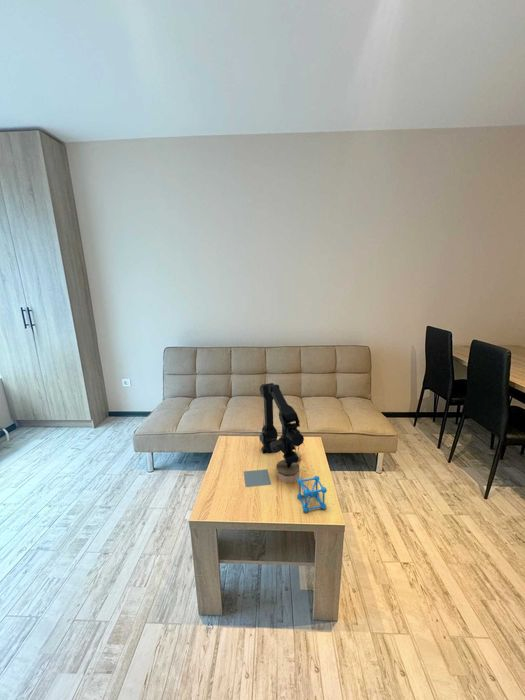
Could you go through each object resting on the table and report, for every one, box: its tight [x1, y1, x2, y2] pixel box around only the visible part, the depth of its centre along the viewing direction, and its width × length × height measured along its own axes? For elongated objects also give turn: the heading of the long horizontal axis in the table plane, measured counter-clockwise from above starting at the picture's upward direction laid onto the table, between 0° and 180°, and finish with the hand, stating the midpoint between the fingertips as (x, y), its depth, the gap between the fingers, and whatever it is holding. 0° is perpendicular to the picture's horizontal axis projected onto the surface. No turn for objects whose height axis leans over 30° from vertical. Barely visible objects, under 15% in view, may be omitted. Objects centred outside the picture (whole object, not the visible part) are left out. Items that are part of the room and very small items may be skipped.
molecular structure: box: [296, 475, 328, 513], centre depth 126 cm, size 10×10×10 cm
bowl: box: [276, 470, 300, 484], centre depth 145 cm, size 10×10×4 cm
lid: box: [276, 459, 300, 475], centre depth 143 cm, size 11×11×5 cm
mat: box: [243, 468, 272, 488], centre depth 144 cm, size 12×12×1 cm
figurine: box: [294, 442, 305, 460], centre depth 159 cm, size 8×6×12 cm
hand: (287, 465), depth 144 cm, fingers closed on lid, 3 cm apart
